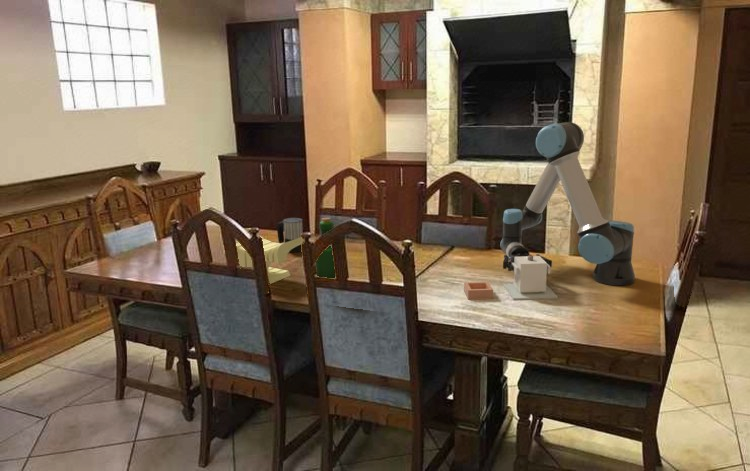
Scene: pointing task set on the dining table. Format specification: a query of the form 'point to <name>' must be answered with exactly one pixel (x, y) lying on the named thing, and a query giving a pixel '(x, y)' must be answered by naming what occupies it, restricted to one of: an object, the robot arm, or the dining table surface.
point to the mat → (521, 296)
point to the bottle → (325, 253)
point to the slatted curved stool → (269, 256)
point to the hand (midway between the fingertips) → (533, 270)
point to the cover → (530, 274)
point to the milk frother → (290, 231)
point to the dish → (478, 290)
